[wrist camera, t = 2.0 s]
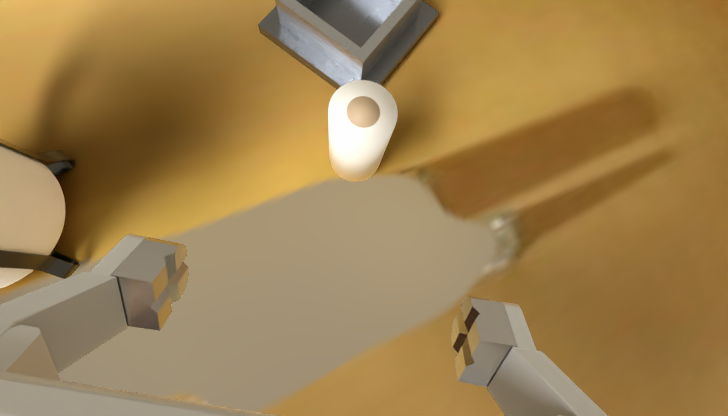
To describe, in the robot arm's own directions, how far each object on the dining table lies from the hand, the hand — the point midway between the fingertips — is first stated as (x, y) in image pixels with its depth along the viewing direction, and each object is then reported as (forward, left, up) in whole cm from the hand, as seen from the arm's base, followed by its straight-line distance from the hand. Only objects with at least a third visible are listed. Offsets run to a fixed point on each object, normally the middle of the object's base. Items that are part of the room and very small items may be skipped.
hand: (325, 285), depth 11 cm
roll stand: (-22, -15, -24) cm, 36 cm away
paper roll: (-11, -6, -24) cm, 27 cm away
